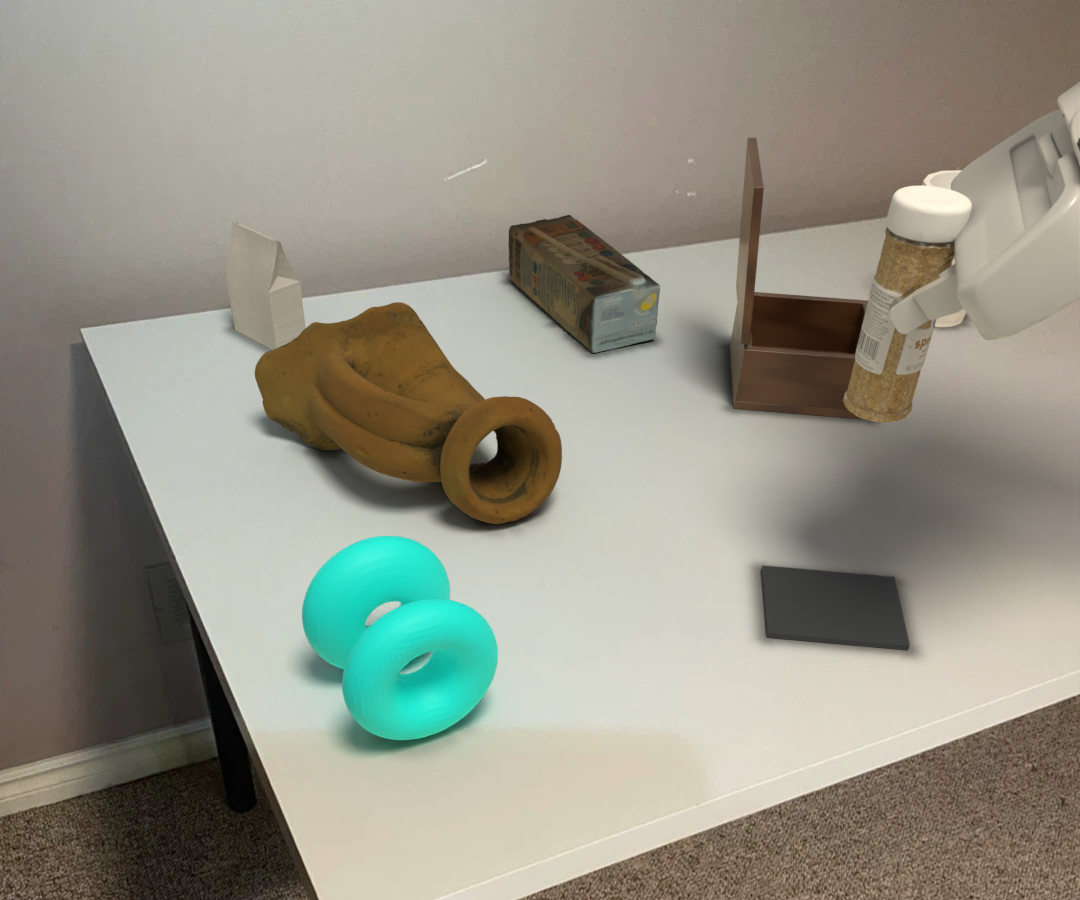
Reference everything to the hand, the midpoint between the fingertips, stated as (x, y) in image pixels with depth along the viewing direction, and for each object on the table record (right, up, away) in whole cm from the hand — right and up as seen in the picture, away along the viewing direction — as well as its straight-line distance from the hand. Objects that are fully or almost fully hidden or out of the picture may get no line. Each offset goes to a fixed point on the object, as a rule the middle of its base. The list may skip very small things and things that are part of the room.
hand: (894, 302), depth 67 cm
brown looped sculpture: (-33, -5, +24) cm, 41 cm away
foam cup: (+20, +18, +49) cm, 56 cm away
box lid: (-3, +16, +28) cm, 33 cm away
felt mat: (-1, -18, +12) cm, 22 cm away
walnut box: (+3, +7, +37) cm, 38 cm away
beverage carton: (-18, +17, +47) cm, 53 cm away
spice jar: (0, -5, +5) cm, 7 cm away
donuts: (-31, -24, +4) cm, 40 cm away
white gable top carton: (-49, +12, +40) cm, 64 cm away
